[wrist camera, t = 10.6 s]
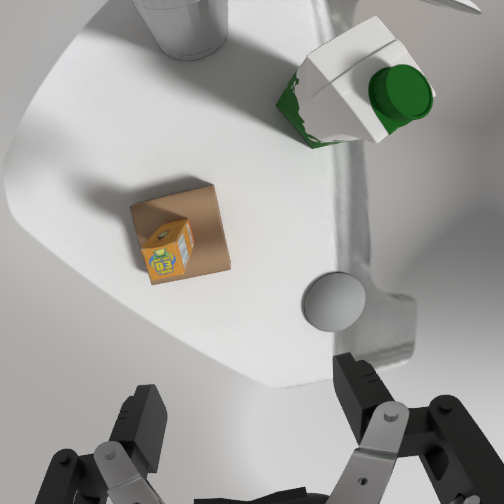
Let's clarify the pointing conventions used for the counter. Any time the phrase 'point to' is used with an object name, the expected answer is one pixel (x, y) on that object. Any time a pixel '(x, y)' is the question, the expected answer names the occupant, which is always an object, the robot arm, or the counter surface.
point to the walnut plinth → (202, 225)
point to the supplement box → (169, 249)
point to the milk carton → (356, 88)
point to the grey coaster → (334, 302)
